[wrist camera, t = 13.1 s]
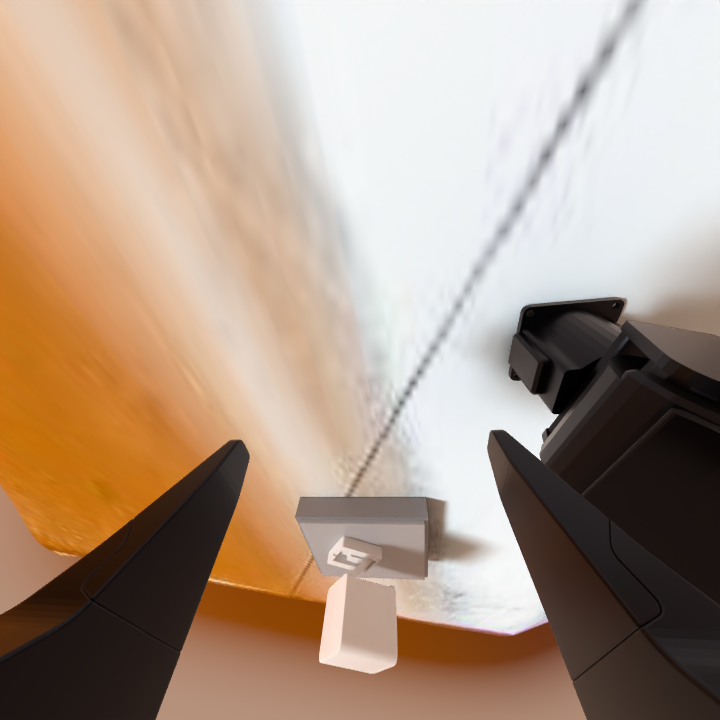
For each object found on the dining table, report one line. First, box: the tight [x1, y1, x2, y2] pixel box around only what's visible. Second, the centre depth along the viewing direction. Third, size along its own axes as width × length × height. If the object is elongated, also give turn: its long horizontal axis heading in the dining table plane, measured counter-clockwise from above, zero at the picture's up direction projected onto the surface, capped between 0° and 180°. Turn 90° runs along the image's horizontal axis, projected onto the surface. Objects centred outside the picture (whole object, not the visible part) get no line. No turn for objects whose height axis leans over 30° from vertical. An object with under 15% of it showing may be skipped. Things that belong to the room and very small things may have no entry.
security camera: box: [319, 536, 397, 674], centre depth 31 cm, size 6×7×10 cm
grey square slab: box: [295, 497, 428, 580], centre depth 37 cm, size 16×16×3 cm
